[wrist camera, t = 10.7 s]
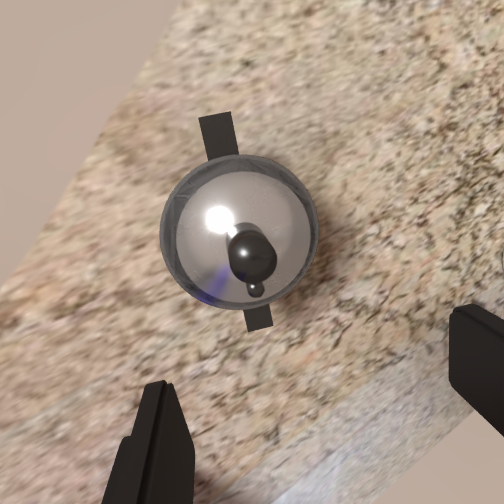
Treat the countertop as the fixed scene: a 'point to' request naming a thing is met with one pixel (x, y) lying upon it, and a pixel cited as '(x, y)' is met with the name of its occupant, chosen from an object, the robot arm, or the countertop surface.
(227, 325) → the countertop surface
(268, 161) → the pot
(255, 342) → the countertop surface
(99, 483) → the countertop surface
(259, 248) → the lid
